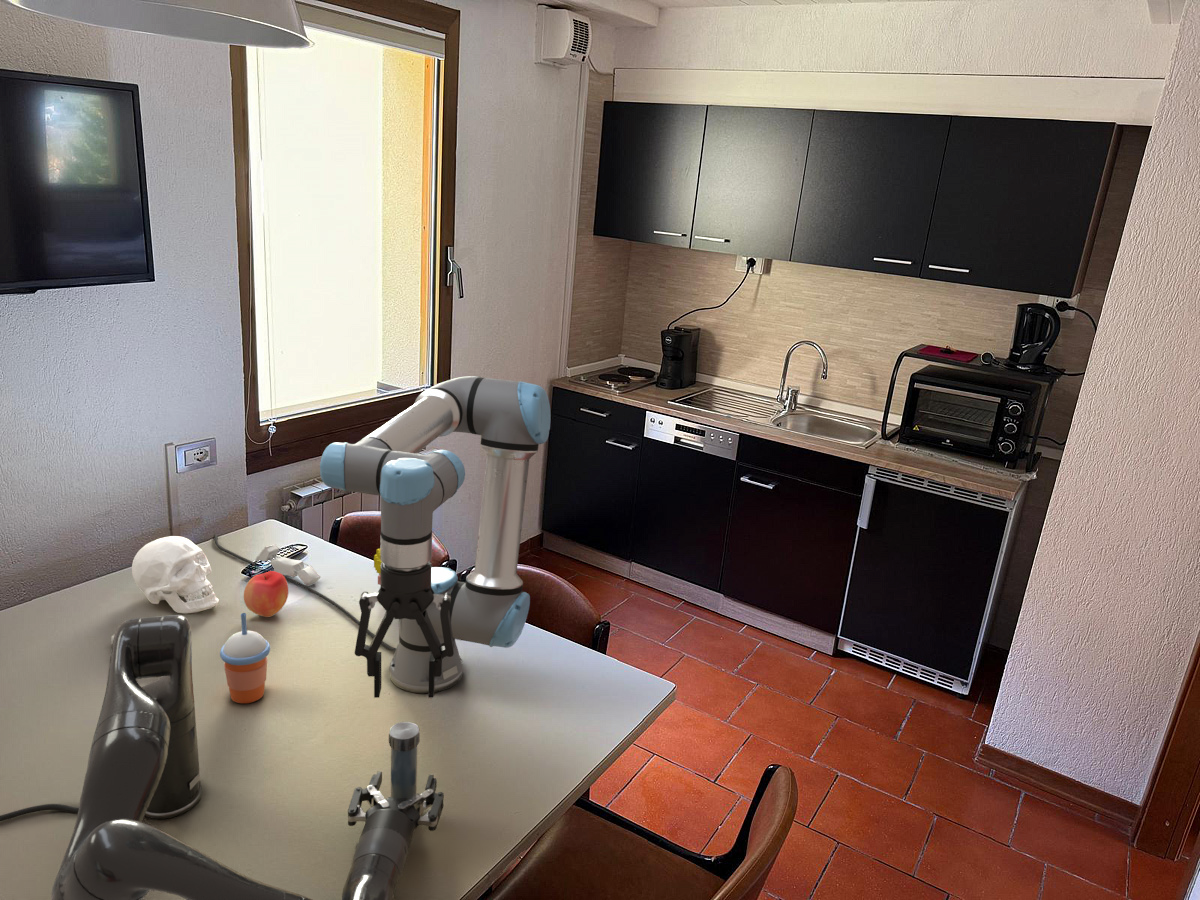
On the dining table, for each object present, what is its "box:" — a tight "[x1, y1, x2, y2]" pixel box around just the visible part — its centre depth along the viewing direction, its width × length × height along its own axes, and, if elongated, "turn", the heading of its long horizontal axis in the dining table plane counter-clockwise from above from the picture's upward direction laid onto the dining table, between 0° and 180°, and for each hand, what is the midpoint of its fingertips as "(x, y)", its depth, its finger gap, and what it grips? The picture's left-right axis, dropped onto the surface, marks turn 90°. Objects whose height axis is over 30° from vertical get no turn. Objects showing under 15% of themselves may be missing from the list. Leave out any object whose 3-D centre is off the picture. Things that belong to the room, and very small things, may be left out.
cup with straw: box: [219, 612, 271, 704], centre depth 167 cm, size 9×9×18 cm
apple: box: [243, 571, 289, 618], centre depth 199 cm, size 10×10×10 cm
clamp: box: [254, 544, 322, 587], centre depth 219 cm, size 20×4×7 cm, turn 62°
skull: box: [131, 535, 220, 615], centre depth 201 cm, size 13×22×16 cm, turn 73°
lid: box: [388, 721, 421, 752], centre depth 138 cm, size 5×5×2 cm
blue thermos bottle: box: [390, 746, 418, 806], centre depth 140 cm, size 4×4×16 cm
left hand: (405, 777), depth 142 cm, fingers open, 8 cm apart
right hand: (404, 692), depth 135 cm, fingers open, 8 cm apart
